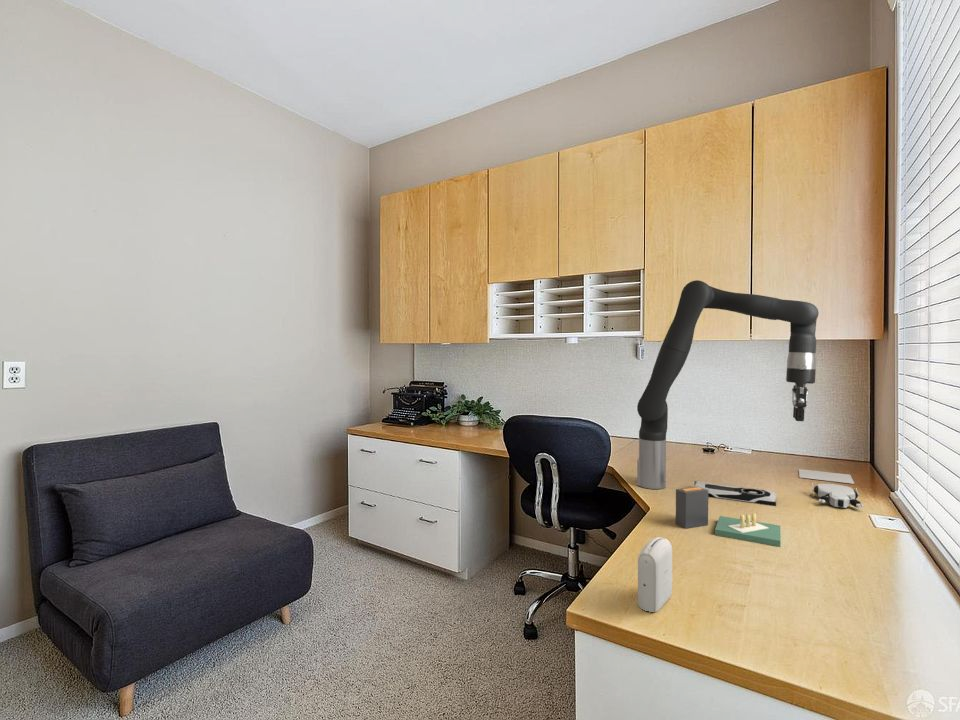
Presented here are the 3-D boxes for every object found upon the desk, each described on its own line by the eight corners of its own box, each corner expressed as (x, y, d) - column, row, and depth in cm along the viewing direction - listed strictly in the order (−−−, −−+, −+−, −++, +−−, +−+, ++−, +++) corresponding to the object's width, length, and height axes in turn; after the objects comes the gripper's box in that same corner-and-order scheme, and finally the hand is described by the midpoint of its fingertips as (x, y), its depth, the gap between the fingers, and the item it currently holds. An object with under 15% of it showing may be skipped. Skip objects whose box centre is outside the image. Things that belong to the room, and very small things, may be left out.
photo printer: (656, 616, 92) (656, 552, 92) (634, 608, 95) (634, 546, 95) (674, 594, 100) (675, 535, 100) (654, 587, 103) (654, 530, 103)
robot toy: (866, 516, 146) (855, 498, 160) (866, 502, 146) (856, 485, 159) (816, 510, 152) (810, 493, 165) (817, 496, 152) (811, 480, 165)
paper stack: (858, 492, 167) (858, 490, 167) (773, 482, 181) (773, 480, 181) (850, 476, 187) (850, 474, 187) (774, 468, 200) (774, 466, 200)
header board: (715, 534, 131) (715, 516, 131) (719, 520, 141) (719, 503, 141) (780, 546, 123) (780, 527, 123) (780, 530, 133) (780, 512, 133)
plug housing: (685, 528, 135) (685, 492, 135) (675, 523, 139) (675, 488, 139) (708, 525, 138) (708, 489, 138) (697, 520, 142) (697, 485, 141)
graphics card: (694, 480, 173) (776, 489, 161) (694, 489, 173) (776, 499, 161) (691, 487, 164) (777, 498, 152) (691, 497, 164) (777, 508, 152)
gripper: (785, 366, 158) (782, 416, 159) (788, 366, 146) (785, 420, 146) (813, 368, 155) (810, 418, 155) (818, 368, 142) (815, 423, 143)
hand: (798, 419), depth 151 cm, fingers open, 8 cm apart
